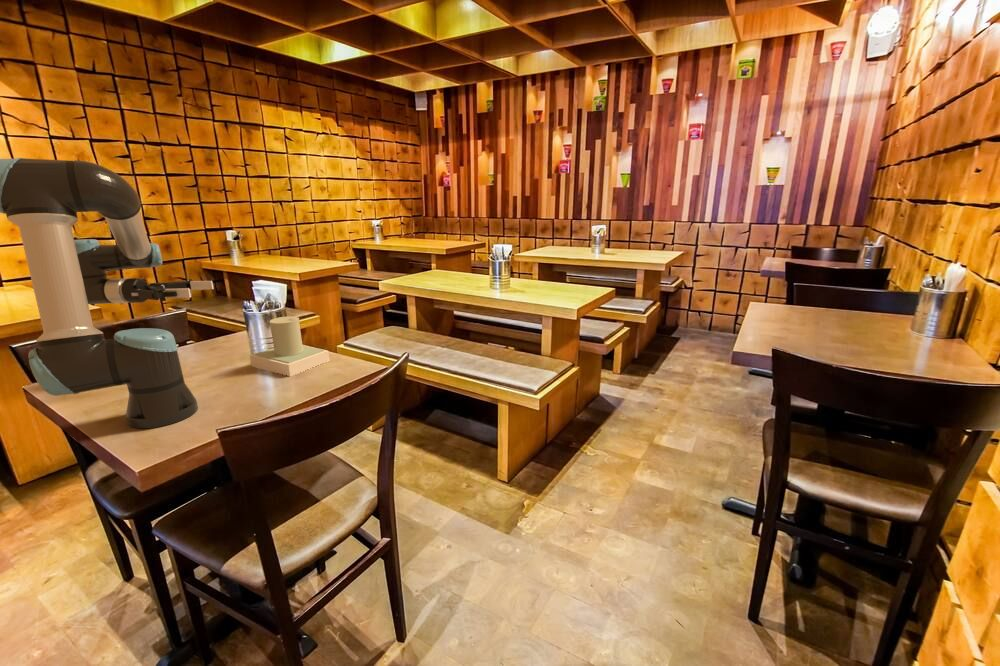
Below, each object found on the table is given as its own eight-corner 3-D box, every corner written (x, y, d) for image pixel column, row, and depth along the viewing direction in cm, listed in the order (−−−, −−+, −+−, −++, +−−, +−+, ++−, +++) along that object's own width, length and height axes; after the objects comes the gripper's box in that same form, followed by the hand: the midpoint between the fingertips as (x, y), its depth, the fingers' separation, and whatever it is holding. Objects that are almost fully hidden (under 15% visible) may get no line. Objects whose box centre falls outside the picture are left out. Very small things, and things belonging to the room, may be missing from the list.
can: (296, 356, 150) (291, 321, 147) (269, 356, 150) (263, 321, 147) (308, 347, 159) (303, 314, 155) (282, 347, 159) (277, 314, 156)
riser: (329, 361, 158) (328, 349, 157) (290, 376, 145) (288, 363, 143) (291, 353, 167) (290, 341, 166) (251, 366, 154) (249, 354, 153)
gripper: (156, 294, 152) (222, 292, 154) (102, 311, 128) (181, 309, 130) (151, 272, 150) (218, 271, 152) (95, 285, 126) (176, 283, 128)
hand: (201, 288), depth 141 cm, fingers open, 13 cm apart
